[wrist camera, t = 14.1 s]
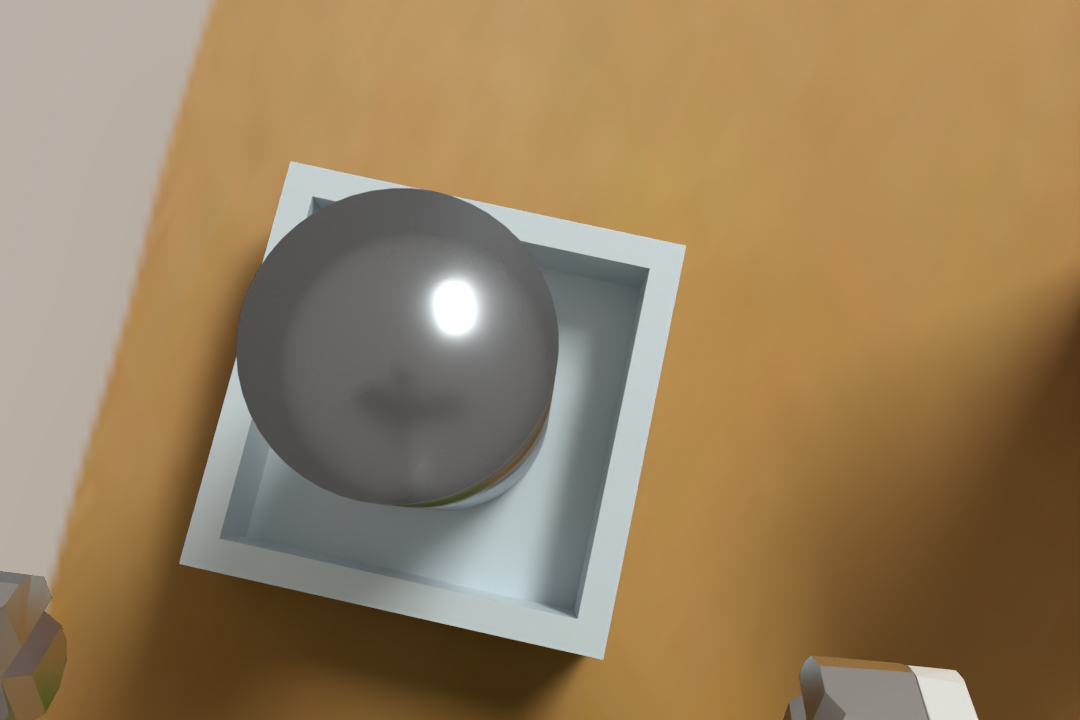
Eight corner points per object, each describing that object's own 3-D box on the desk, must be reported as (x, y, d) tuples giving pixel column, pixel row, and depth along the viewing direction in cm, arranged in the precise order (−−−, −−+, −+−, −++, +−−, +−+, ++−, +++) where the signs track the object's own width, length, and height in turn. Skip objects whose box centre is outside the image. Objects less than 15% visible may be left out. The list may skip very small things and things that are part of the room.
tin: (527, 529, 25) (523, 534, 16) (328, 488, 26) (200, 469, 16) (566, 333, 26) (586, 220, 16) (373, 295, 26) (280, 161, 17)
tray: (595, 643, 26) (602, 659, 23) (218, 558, 26) (178, 563, 23) (669, 275, 27) (686, 245, 24) (316, 199, 28) (290, 161, 25)
